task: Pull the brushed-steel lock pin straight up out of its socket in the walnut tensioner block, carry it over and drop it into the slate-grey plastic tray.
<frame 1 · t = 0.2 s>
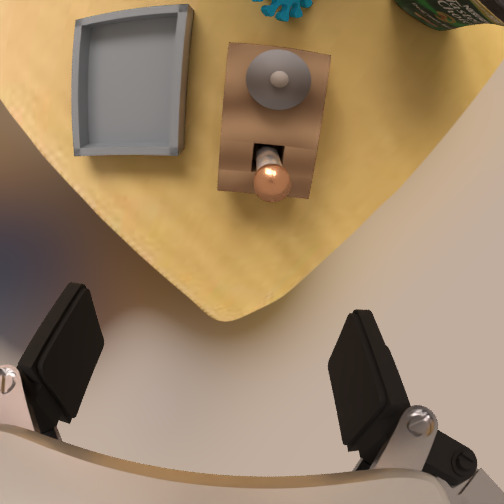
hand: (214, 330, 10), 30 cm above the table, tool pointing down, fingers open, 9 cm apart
lock pin: (265, 148, 35), point 1 cm above the table, touching tensioner block
coffee jar: (421, 1, 23), on the table
tray: (132, 80, 30), on the table
tensioner block: (268, 115, 33), on the table
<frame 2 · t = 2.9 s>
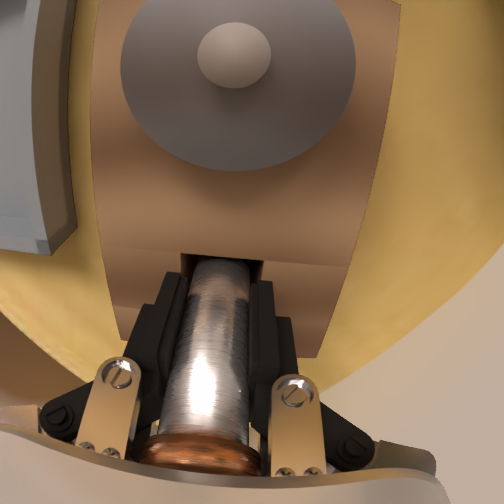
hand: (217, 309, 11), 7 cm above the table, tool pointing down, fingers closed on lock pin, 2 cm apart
lock pin: (227, 232, 17), point 1 cm above the table, touching gripper, tensioner block
tensioner block: (235, 156, 15), on the table
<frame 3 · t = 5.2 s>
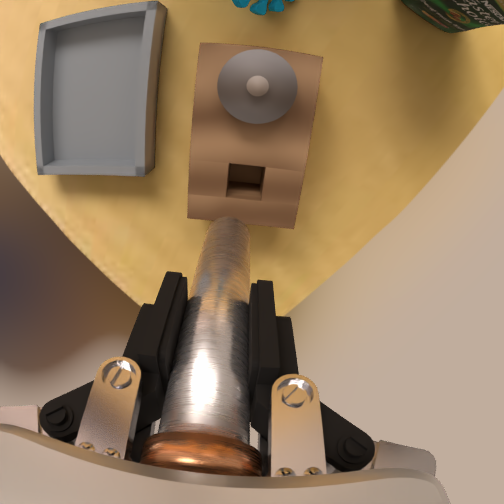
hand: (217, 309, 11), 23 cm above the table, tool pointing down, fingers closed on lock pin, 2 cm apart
lock pin: (228, 236, 17), point 17 cm above the table, touching gripper
tray: (99, 89, 26), on the table
tensioner block: (250, 128, 29), on the table
when the fingers open (10 cm above the table, at t = 7.9 s): lock pin drops 2 cm, resting on tray.
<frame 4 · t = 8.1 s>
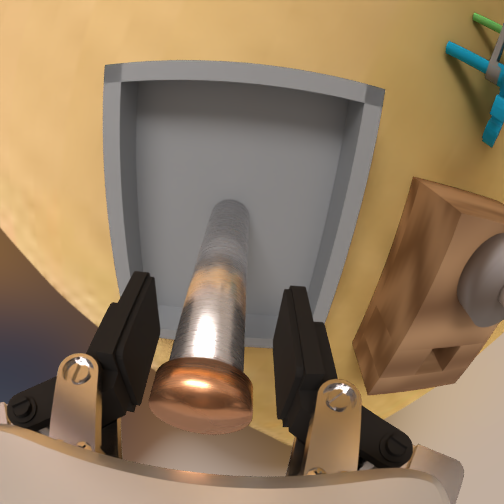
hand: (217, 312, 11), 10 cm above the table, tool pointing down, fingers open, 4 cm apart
gear: (477, 71, 14), on the table
lock pin: (230, 217, 19), point 1 cm above the table, touching tray
tray: (231, 208, 20), on the table
tensioner block: (429, 276, 23), on the table
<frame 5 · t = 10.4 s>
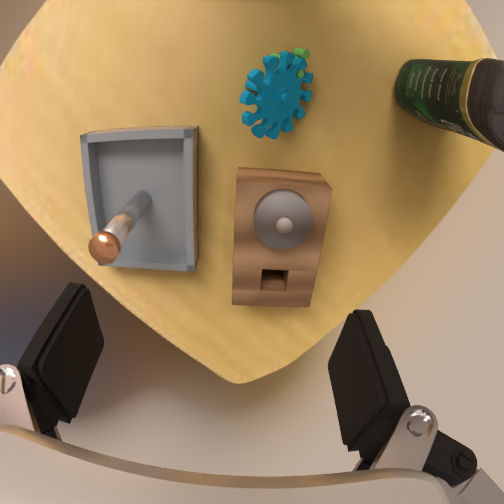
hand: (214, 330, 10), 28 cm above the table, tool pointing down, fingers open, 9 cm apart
gear: (278, 91, 31), on the table
lock pin: (142, 199, 36), point 1 cm above the table, touching tray
coffee jar: (423, 93, 30), on the table
tray: (145, 195, 37), on the table
tensioner block: (274, 229, 40), on the table
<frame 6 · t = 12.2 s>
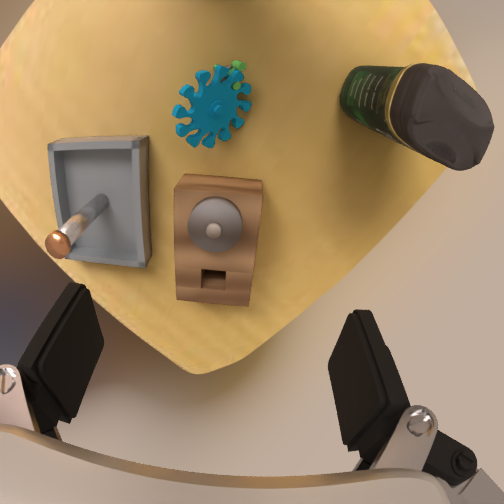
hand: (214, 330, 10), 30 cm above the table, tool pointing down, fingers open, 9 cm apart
gear: (220, 101, 33), on the table
lock pin: (101, 201, 38), point 1 cm above the table, touching tray
coffee jar: (373, 100, 33), on the table
tray: (104, 197, 39), on the table
tensioner block: (218, 231, 42), on the table
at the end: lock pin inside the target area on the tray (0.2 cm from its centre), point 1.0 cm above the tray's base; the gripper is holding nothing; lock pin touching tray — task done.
